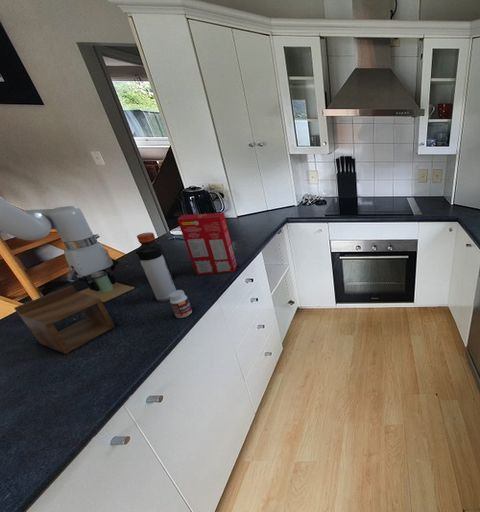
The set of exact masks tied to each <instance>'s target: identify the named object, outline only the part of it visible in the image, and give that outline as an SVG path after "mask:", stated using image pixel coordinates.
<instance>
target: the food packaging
mask: <svg viewBox="0 0 480 512" xmlns="http://www.w3.org/2000/svg"><path fill="white" fill-rule="evenodd" d="M177 222H178V225H179V228H180V232H181V234H182V237H183V240H184V243H185V247H186V248H187V252H188V256H189V257H190V260H191V263H192V266H193V269H194V273H195V275H196V276H201V275H211V274H212V275H213V274H223V273H234V272H235V271H236V270H237V268H238V263H237V260H236V256H235V252H234V247H233V244H232V240H231V235H230V231H229V228H228V224H227V220H226V216H225V213H224V212H215V213H214V212H212V213H197V214H182V215H181V216H180V217H178V218H177Z"/></svg>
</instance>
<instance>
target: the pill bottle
mask: <svg viewBox="0 0 480 512" xmlns="http://www.w3.org/2000/svg"><path fill="white" fill-rule="evenodd" d="M169 297H170V300H169V303H170V306H171V309H172V311H173V313H174V316H175V317H176V318H179V319H183V318H186V317H188V316H190V315H191V314H192V312H193V309H192V306H191V303H190V301H189V298H188V296H187V295H186V294H185V291H184V290H183V289H176V291H173V292H171V293H170V294H169Z"/></svg>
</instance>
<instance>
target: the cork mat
mask: <svg viewBox="0 0 480 512" xmlns="http://www.w3.org/2000/svg"><path fill="white" fill-rule="evenodd" d="M112 285H113V287H114V289H113V290H111V291H109V292H107V293H98V291H94V290H91V289H90V288H89V287H88V288H85V289H83V290H80V291H79V292H81V293H84V294H87V295H90V296H94V297H97V298H100V299H101V301H102V303H106V302H109V301H111V300H113V299H114V298H117V297H119V296H121V295H124V294H126V293H128V292H130V291H132V290H134V289H136V287H134V286H131V285H126V284H123V283H119V282H116V281H115V284H112Z"/></svg>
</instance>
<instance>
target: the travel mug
mask: <svg viewBox="0 0 480 512" xmlns="http://www.w3.org/2000/svg"><path fill="white" fill-rule="evenodd" d="M135 254H136V255H137V257H138V259H139V261H140V264H141V266H142V269H143V272H144V273H145V277H146V278H147V280H148V283H149V286H150V287H151V290H152V292H153V294H154V297H155V299H156V301H157V302H167V301H170V297H169V294H170V293H171V292H173V291H177V289H176V286H175V283H174V281H173V279H172V278H171V275H170V273H169V270H168V268H167V265H166V262H165V260H164V257H163V255H162V253H161V250H160V248H159V247H158V248H157V247H146V248H141V249H139V248H138V249H136V250H135Z"/></svg>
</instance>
